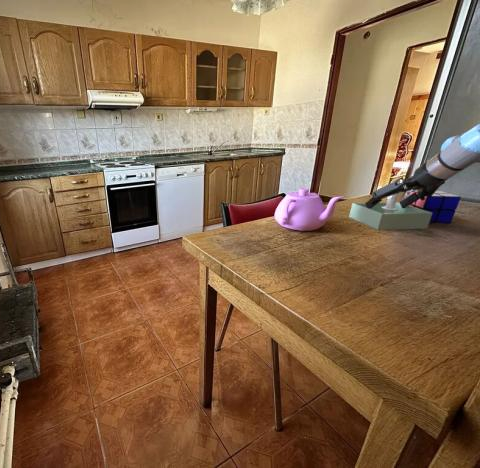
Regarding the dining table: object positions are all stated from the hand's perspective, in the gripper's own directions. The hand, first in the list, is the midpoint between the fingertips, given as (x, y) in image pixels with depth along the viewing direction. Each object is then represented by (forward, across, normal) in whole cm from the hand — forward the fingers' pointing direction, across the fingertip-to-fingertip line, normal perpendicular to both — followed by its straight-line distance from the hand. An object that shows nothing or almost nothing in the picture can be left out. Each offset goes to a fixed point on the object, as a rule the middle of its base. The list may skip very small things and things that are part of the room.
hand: (384, 205), depth 97 cm
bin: (+2, 0, +6) cm, 6 cm away
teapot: (0, +32, +8) cm, 33 cm away
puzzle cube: (+5, -18, +4) cm, 19 cm away
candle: (+2, 0, +6) cm, 6 cm away
